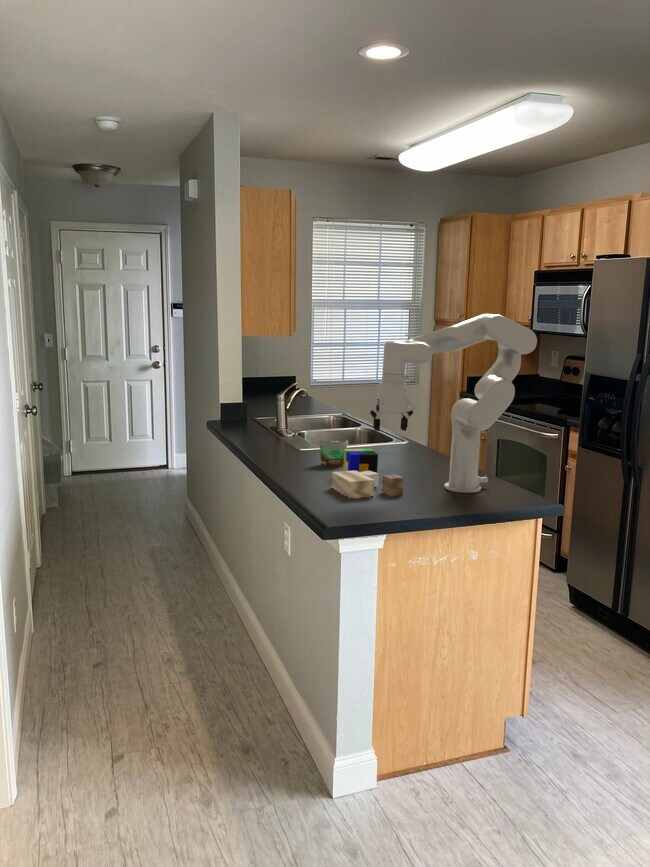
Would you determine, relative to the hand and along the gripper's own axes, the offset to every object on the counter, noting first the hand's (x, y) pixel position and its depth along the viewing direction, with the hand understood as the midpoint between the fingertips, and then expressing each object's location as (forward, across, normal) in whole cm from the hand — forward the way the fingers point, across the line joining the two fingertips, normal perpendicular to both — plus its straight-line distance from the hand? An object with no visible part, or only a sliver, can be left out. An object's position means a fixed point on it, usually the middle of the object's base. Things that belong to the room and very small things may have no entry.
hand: (390, 430), depth 238 cm
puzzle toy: (+22, +2, -19) cm, 29 cm away
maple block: (+22, +12, -2) cm, 25 cm away
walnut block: (+21, -1, +2) cm, 21 cm away
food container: (+22, +4, -40) cm, 46 cm away
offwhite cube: (+21, +3, -8) cm, 23 cm away
